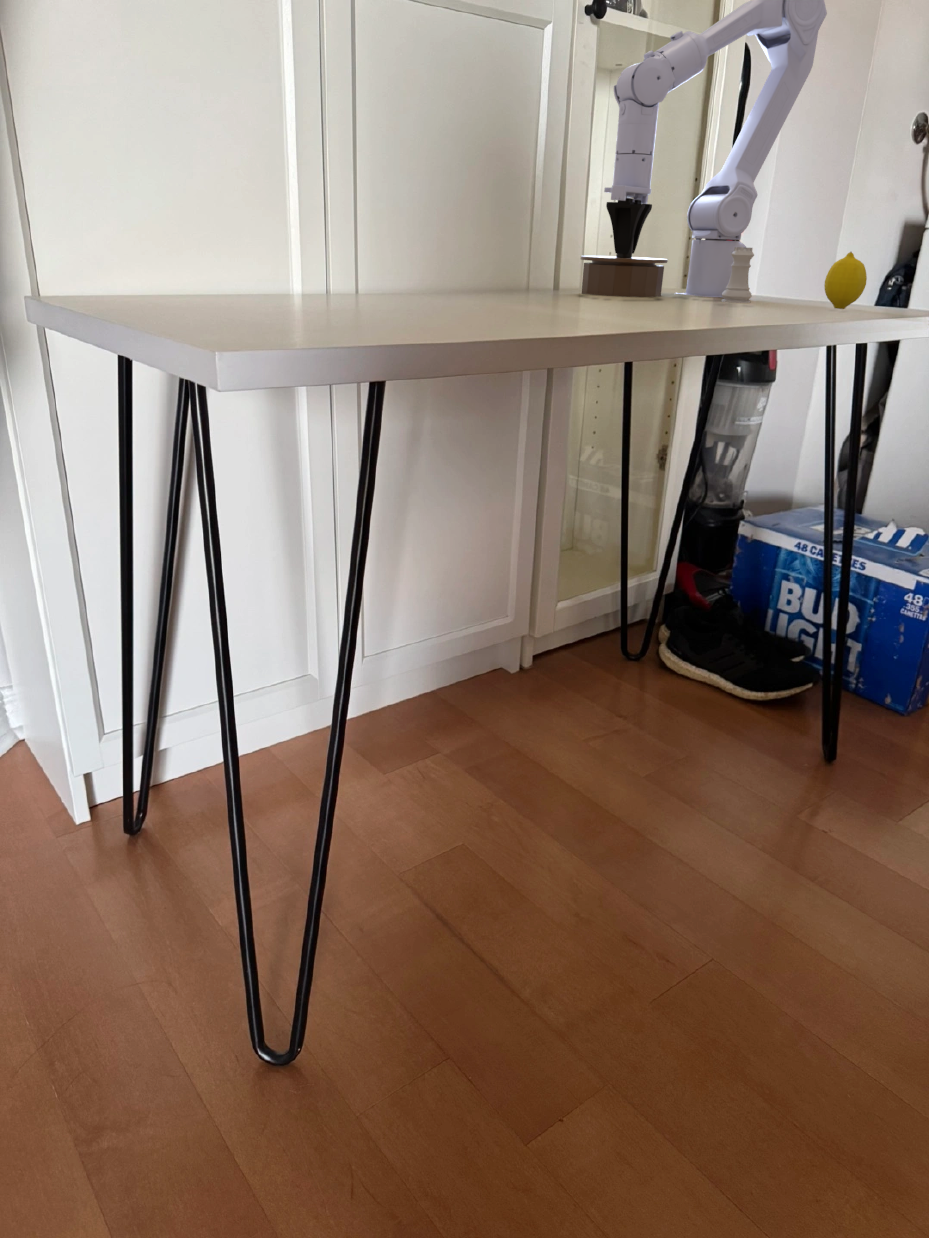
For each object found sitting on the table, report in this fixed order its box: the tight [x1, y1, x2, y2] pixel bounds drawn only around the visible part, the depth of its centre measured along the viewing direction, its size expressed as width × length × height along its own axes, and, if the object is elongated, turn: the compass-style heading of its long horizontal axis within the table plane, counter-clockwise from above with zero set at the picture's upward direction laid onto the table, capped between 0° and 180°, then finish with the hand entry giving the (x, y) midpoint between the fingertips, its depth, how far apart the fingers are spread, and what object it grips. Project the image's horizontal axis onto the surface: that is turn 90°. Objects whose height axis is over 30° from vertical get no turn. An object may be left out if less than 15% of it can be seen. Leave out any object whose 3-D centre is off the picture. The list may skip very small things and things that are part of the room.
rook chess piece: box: [720, 246, 755, 304], centre depth 130 cm, size 4×4×8 cm
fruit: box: [823, 251, 868, 310], centre depth 127 cm, size 6×6×8 cm
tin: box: [581, 261, 665, 298], centre depth 139 cm, size 12×12×5 cm
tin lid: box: [580, 238, 669, 266], centre depth 137 cm, size 14×14×6 cm
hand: (624, 253), depth 138 cm, fingers closed on tin lid, 2 cm apart
